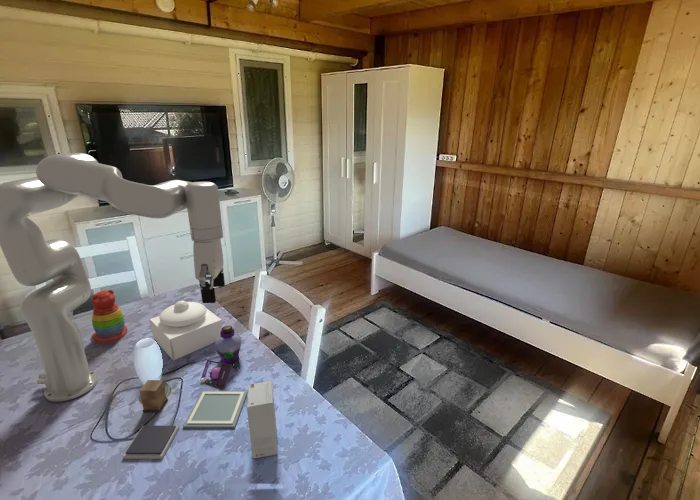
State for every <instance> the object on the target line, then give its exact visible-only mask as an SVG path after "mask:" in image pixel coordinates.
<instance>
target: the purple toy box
mask: <svg viewBox="0 0 700 500" xmlns="http://www.w3.org/2000/svg"><path fill="white" fill-rule="evenodd" d="M212 363H213V364H217V365H218V364H219V365H221V366H220V367H215V368H213V369H210V371H208V369H209V366H210V365H212ZM231 368H232V364H231V363H225V362H220V361H215V360H209V359H207V360H206V363H205V366H204V369H203V371H202V374H201V378H200V383H202V384H204V385H205V384H206V386H207V385H208V386H211V387H217V388H219V389H220V388H221V389H225V388H226V385H227V382H228V379H229V375H230V371H231ZM207 372H208V374H209V375H208V378H206V376H207ZM209 378H211V379H209ZM214 380H216V382H215V384H213V383H214Z"/></svg>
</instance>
